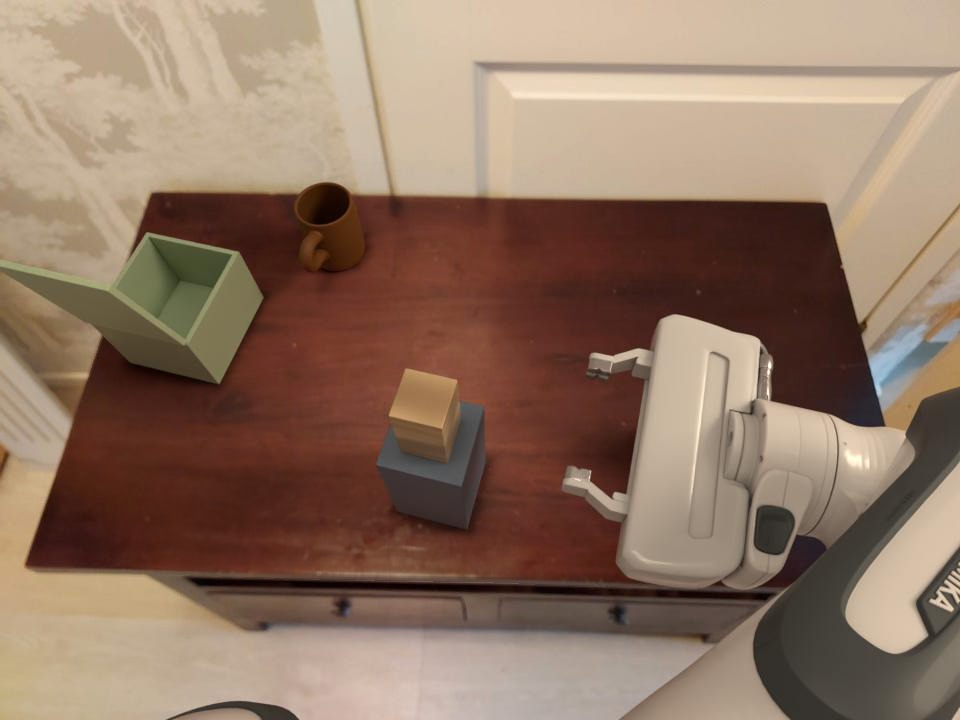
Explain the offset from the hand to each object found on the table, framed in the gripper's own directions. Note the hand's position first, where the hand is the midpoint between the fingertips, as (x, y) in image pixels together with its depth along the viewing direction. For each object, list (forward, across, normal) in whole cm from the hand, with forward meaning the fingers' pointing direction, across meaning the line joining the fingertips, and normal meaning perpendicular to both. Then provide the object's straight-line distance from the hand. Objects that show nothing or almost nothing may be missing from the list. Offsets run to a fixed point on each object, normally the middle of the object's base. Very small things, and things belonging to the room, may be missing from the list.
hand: (576, 418), depth 49 cm
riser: (+12, 0, +26) cm, 29 cm away
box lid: (+48, -5, +9) cm, 49 cm away
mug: (+35, -26, +26) cm, 51 cm away
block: (+12, 0, +11) cm, 16 cm away
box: (+48, -12, +26) cm, 56 cm away
